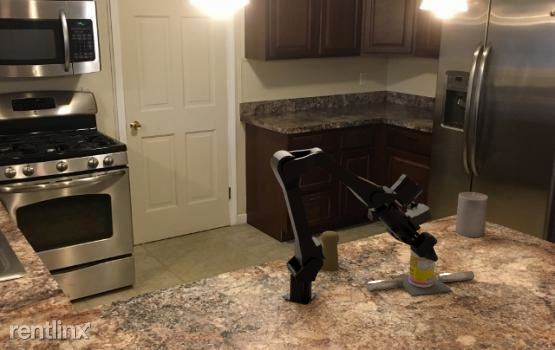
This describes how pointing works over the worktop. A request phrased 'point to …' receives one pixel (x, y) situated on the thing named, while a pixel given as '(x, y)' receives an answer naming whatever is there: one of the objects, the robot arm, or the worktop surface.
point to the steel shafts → (399, 282)
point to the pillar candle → (471, 214)
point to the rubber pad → (416, 291)
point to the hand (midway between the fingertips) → (428, 253)
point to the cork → (330, 251)
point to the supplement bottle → (421, 271)
